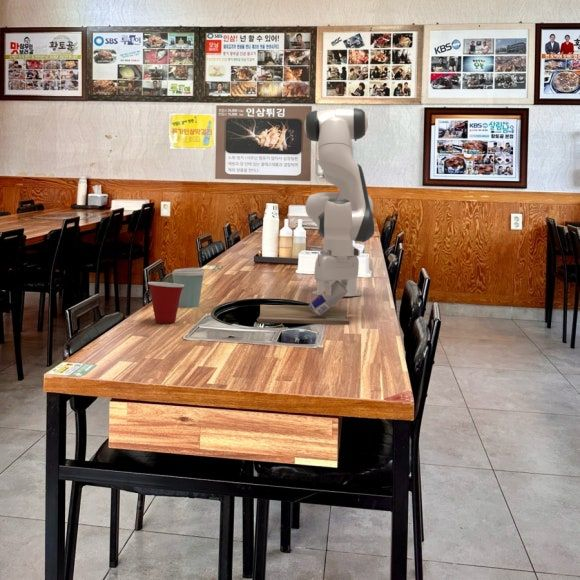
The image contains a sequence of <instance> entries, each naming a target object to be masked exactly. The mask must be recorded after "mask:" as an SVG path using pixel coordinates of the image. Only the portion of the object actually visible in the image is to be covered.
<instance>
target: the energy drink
mask: <svg viewBox="0 0 580 580" xmlns="http://www.w3.org/2000/svg"><path fill="white" fill-rule="evenodd" d="M331 289H332V290H333V295H326V290H325V291H324V292H322V293H321V294H320V295H317V297H316V298H315V299H313V300H312V301H311V302H310V303H309V305H308V306H309V307H310V309H311V310H312V311H313V312H314V313H315V314H316V315H317V316H318V317H321V316H322V315H323V314H324V313H325V312H326V311H328V310H329V309H330V308H331V307H334V306H335V305H336V304H337V303H338V302H339V301H340V300H341V299H343V298H344V297H346V296H345V295H346V294H347V292H348V291H347V290H346V288H345V287H344V286H343V285H342V284H341V283H340V282H339V281H338V280H337V281H335V282H334V283H333V284H332V285H331Z"/></svg>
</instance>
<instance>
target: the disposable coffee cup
mask: <svg viewBox="0 0 580 580" xmlns="http://www.w3.org/2000/svg"><path fill="white" fill-rule="evenodd" d="M171 275H172V281H173V282H172V283H175V284H182V285H184V287H183V289H182V291H181V294H180V299H179V305H178V308H187V309H190V308H193V309H194V308H197V307H198V308H199V306H200V300H201V293H202V285H203V281H204V280H203V278H204V276H205V272H204V271H203V267H188V268H187V267H186V268H185V267H184V268H178V269H174V270H173V271H172V273H171Z"/></svg>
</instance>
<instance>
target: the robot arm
mask: <svg viewBox="0 0 580 580" xmlns="http://www.w3.org/2000/svg"><path fill="white" fill-rule="evenodd" d="M368 126H369V121H368V117H367V115H366V112H365V111H364V110H363V109H361V108H357V107H354V108H341V107H340V108H339V107H338V108H337V107H336V108H330V109H324V110H317V109H316V110H313V111H309V112H308V113H307V114H306V117H305V120H304V124H303V129H304V133H305V135H306V138H307V139H309V141H312V142H316V143H317V142H318V144H317V145H318V147H317V155H318V156H317V157H318V163H319V167H320V169H322V171H323V172H322V173H323V176H324V179H325V181H327V182H328V183H329V184H332V185H334V186H335V187H336V188H337V189H338V190H339V192H334V191H333V192H329V191H328V192H327V191H326V192H325V191H324V192H316V193H313V194H310V195H309V197H308V198H307V199H306V201H305V206H304V207H305V213H306V215H307V216H308V218H309V219H310V220H312V221H313V222H314V223H315V225H317V227H318V228H317V234H318V235H319V236H321V238H322V242H323V243H322V250H320V251H319V253H318V254H317V258H316V260H315V264H314V265H315V266H314V275H313V278H314V279H315V282H316V290H313V291H311V294H312V295H316V296H319V295H320V294H321V293H322V292H324V291H325V290H326V295H333V290H332V289H331V285H332V284H333V283H334V282H335V281H337V280H338V281H339V282H340V283H341V284H342V285H343V286H344V287H345V288H346V290H347V291H348V292H347V294H346V295H345V296H344V297H358V296H362V292H360V291H357V290H358V289H357V285H358V276H359V268H360V267H359V265H360V264H359V263H360V261H359V257H360V254H361V253H360V252H361V251H360V249H358V248H356V247H355V246H354V245H353V242H358V243H359V242H362V243H365V242H367V241H369V240H370V239H371V238H372V237H373V236H374V235H375V228H376V224H375V219H374V216H373V211H374V202H373V199H372V198H371V197H370V195H369V193H368V188H367V183H366V179H365V175H364V171H363V168H362V166H361V164H359V163H357V161H356V160H355V158H354V155H353V142H352V140H354V142H356V141H357V140H360V139H362V138H363V137H364V136H366V133H367V131H368Z"/></svg>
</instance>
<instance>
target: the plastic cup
mask: <svg viewBox="0 0 580 580" xmlns="http://www.w3.org/2000/svg"><path fill="white" fill-rule="evenodd" d="M147 285H148V286H149V290H150V291H149V292H150V295H151V305H152V309H153V311H152V312H153V314H154V320H155V323H157V324H174V323H175V322H176V320H177V313H178V309H179V306H178V305H179V299H180V294H181V291H182V289H183V287H184V285H182V284H175V283H174V282H165V281H164V282H163V281H162V282H161V281H148V282H147Z"/></svg>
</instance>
